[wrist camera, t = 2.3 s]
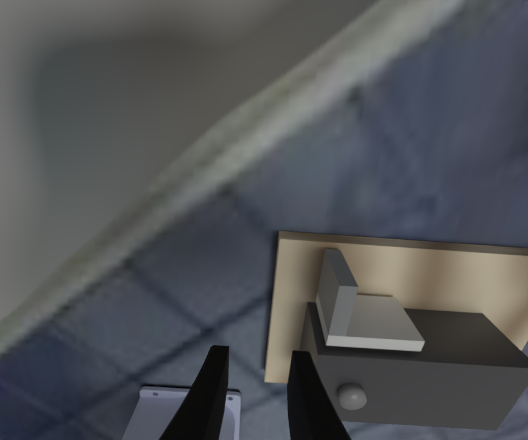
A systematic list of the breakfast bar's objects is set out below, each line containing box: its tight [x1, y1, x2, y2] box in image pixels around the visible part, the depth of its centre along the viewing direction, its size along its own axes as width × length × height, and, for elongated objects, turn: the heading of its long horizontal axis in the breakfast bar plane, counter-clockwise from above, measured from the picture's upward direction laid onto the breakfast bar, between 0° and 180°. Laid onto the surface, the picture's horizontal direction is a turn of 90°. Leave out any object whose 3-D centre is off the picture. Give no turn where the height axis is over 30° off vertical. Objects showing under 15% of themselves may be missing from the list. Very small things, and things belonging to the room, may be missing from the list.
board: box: [265, 231, 528, 383], centre depth 21 cm, size 20×14×1 cm
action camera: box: [299, 302, 528, 430], centre depth 18 cm, size 14×6×5 cm, turn 86°
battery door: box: [316, 249, 425, 351], centre depth 17 cm, size 6×4×4 cm
